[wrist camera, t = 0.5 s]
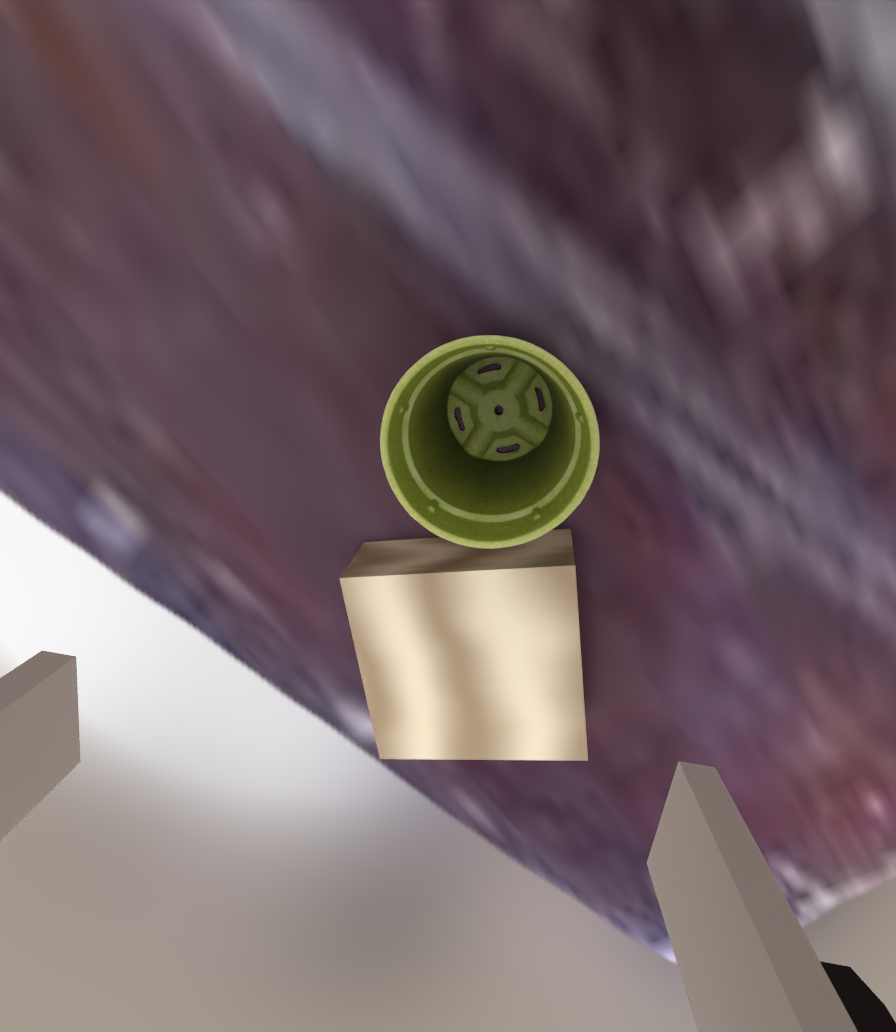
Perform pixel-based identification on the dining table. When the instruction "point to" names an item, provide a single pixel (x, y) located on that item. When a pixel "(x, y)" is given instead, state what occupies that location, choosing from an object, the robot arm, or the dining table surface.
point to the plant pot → (489, 442)
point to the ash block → (469, 648)
